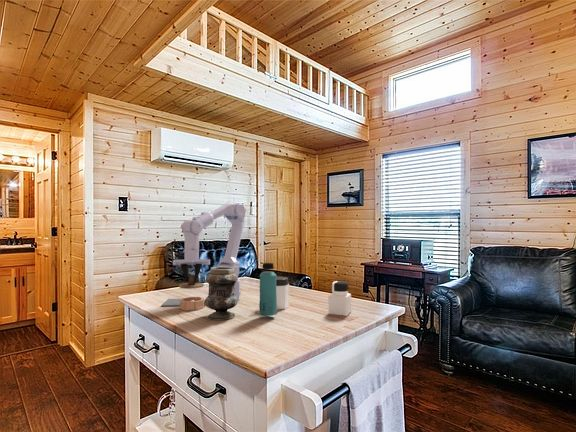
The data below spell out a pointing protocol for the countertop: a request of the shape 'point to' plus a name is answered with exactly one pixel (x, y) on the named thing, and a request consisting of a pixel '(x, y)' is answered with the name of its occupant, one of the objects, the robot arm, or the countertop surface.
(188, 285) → the lid
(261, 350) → the countertop surface
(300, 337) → the countertop surface
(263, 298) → the beverage bottle
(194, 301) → the bowl
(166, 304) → the mat
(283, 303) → the jar
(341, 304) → the medicine bottle
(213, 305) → the apothecary jar
